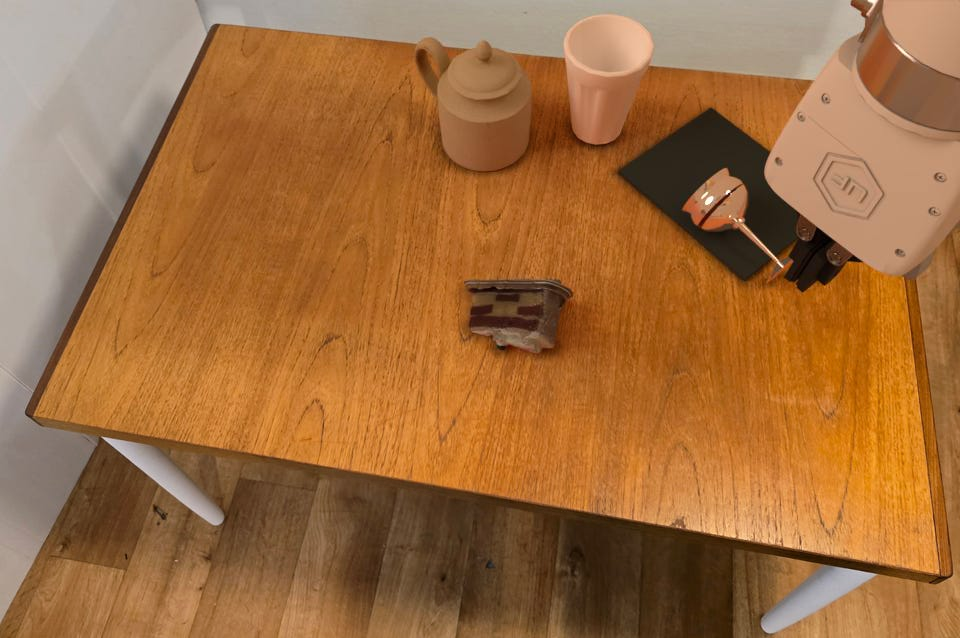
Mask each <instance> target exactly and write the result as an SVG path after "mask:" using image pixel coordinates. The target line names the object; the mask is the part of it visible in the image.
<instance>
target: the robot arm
mask: <svg viewBox="0 0 960 638" xmlns="http://www.w3.org/2000/svg"><path fill="white" fill-rule="evenodd" d="M850 6H851V7H853V8H854V9H856V10H857V11H859V12H860V16H861V17H862V18H864V27H863V30H862V31H860V32H859V33H857V34H854V35H852V36H851V37H849V38H847V39H846V40H845V41H844V42H843V43H841V44H840V46H839V47H838V48H837V49H836V51H835V52H834V53H833V54H832V56H830V58H829V59H828V60H827V62H826V63H825V64H824V66H823V68H822V69H821V70H820V72H819V73H818V74H817V76H816V77H815V78H814V80H813V81H812V82H811V84H810V86H809V88H808V89H807V91H805V93H804V95H803V97H802V98H801V100H800V101H799V102H798V104H797V106H796V108H795V109H794V111H793V112H792V113H791V116H790V117H789V119H788V121H787V122H786V123H785V125H784V127H783V128H782V130H781V132H780V133H779V136H778V138H777V139H776V141H775V143H774V144H773V146H772V149H771V150H770V152H771V153H770V155H769V157H768V159H767V162H766V165H765V170H764V174H765V178H766V180H767V182H768V184H769V185H770V187H771V188H772V189H773V191H774V192H775V193H776V194H777V195H778V196H780V197H781V198H782V199H783V200H784V201H785V202H787V203H788V204H789V205H790V206H792V207H793V208H794V209H795V210H796V213H797V216H798V219H799V221H798V224H797V227H796V233H797V235H798V237H799V239H797V240H796V241H795V244H794V245H793V247H792V249H791V250H790V252H789V254H788V255H787V258H788V257H789V258H790V259H792V260H793V262H791V263H790V265H789V267H788V269H787V271H786V272H785V274H784V275H783V278H784V279H785V280H786V281H787V282H788V283H791V282H792V283H793V284H794V283H795V286H796V289H797V290H798V291H800V293H805V292H806V291H807V290H808V289H810V288H811V287H812V286H813V285H815V284H816V283H817V282H819V283H820V284H821V285H822V286H823V287H825V286H827V285H828V284H829V283H831V282H832V281H833V280H834V279H835V278H836V277H837V276H838V275H839V274H840V272H841V271H842V270H843V269H844V267H845V266H846V264H847V263H848V262H849V263H862V264H863V263H864V264H865V265H867V266H869V267H870V268H871V269H874V270H875V271H877V272H878V273H882V274H884V275H887V276H891V277H903V278H904V279H906V280H909V281H915V280H916V279H918V278H919V277H920V276H921V275H922V274H923V273H924V272H926V271H927V270H928V269H929V268H930V266H931V263H932V261H933V258H934V256H935V254H936V251H937V249H938V247H939V246H940V245H941V244H942V242H943V241H945V240H946V239H947V238H949V237H950V236H951V235H953V234H954V232H955V231H957V229H958V228H959V227H960V0H850Z"/></svg>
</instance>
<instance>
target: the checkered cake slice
mask: <svg viewBox="0 0 960 638" xmlns="http://www.w3.org/2000/svg"><path fill="white" fill-rule="evenodd" d="M463 284H464V285H465V290H466V291H467V292H469V293H471V294H472V297H471V303H472V305H471V307H470V310H469V322H468V328H469V330H470V331H471V332H472V333H474V334H478V335H480V336H485V337H490V336H492V340H493V341H494V342H496V348H497V349H498V350H499V351H504V350H505V349H506V347H508V346H512V347H516V348H518V349H522V350H524V351H527V352H530V353H534V354H540V353H542V350H543V349H544V348H545V349H553V348H554V347H555V343H556V334H557V331H558V325H559V319H560V315H561V311H562V308H563V307H564V304H565V303H566V302H567V301H568V300H569V299H571V298H573V296H574V291H572V289H571V288H569V287H568V286H566V285H564V284H562V281H561V280H560V279H554V278H553V279H552V278H545V279H531V278H515V279H508V278H507V279H496V278H495V279H484V280H483V279H481V280H480V279H478V278H476V279H465V280H463Z"/></svg>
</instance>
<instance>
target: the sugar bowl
mask: <svg viewBox="0 0 960 638" xmlns="http://www.w3.org/2000/svg"><path fill="white" fill-rule="evenodd" d="M428 54H429V55H430V56H431V58H432V59H433V61H434V63H435V66H436V69H437V72H438V75H437V74H436V72H435V70H434V69H433V67H432V64H431V62H430V59H429V55H428ZM413 59H414V62H415V66H416V70H417V72H418V74H419V76H420V79H421V80H422V81H423V84H424V85H425V87H426V88H427V89H428V91H429V92H430V94H431V96H433V97H434V99H435V100H436V101H437V107H438V108H437V109H438V120H439V127H440V136H441V142H442V147H443V150H444V151H445V153H446V155H447V156H448V157H449V159H450V160H452V161H453V162H454V163H455V164H457V165H458V166H459V167H460V166H461V168H462V167H463V168H465V169H467V170H471V171H475V172H485V173H487V172H495V171H499V170H503V169H505V168H508V167H510V166H511V165H513V164H514V163H515V162H517V161H518V160H520V158H521V157H522V156H523V155H524V154H525V153H526V150H527V148H528V146H529V141H530V131H531V121H532V120H531V119H532V106H533V105H532V104H533V102H532V101H533V100H532V99H533V96H532V95H533V90H532V89H533V87H532V81H531V78H530V76H529V74H528V72H526V71H525V69H524V68H523V67H521V64H520V62H519V61H518V59H517V58H516V57H515V56H514V55H512V54H511V53H510V52H507V51H506V50H504V49H500V48H497V47H492V45H491V44H490V43H489V42H488V41H487V40H484V39H482V40H480V41H479V42H478V43H477V44H476V47H473V48H469V49H467V50H465V51H463V52H461V53H459V54H457V55H456V56H455V57H454V58H453V59H452V61H451V60H450V56H449V54H448V51H447V49H446V48H445V47H444V44H442V43H441V42H440V40H438V39H436V38H435V37H432V36H430V37H429V36H428V37H423V38H422V39H420V40H419V41H418V42H417V44H416V45H415V47H414V51H413Z"/></svg>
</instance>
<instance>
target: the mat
mask: <svg viewBox="0 0 960 638" xmlns="http://www.w3.org/2000/svg"><path fill="white" fill-rule="evenodd" d="M770 153H771V150H768V149H767V148H766V147H765V146H763V145H762V144H761V143H759V142H758V141H757V140H755V139H754V138H752V137H751V136H750V135H748V133H746V132H744V131H743V130H742V129H741V128H740V127H738V126H736V125H735V124H734V123H732V122H731V121H730V120H728V119H727V118H726V117H725V116H724V115H722V114H720V113H719V112H718V111H717V110H715V109H714V108H713V107H709V108H708V109H706V110H705V111H703V112H702V113H700V114H699V115H697V116H695V118H693V119H691V120H690V121H688V122H687V123H686V124H683V126H680V128H677V130H675V131H674V132H672V133H671V134H670V135H668V136H666V137H665V138H663V139H662V140H660V141H659V142H657V143H656V144H655V145H653V146H651V147H650V148H648V150H646V151H644V152H643V153H642V154H640V155H639V156H637V157H635V158H634V159H633V160H631V161H630V162H628V163H627V164H625V165H623V166H622V167H620V168H619V169H618V170H617V174H619V176H621V178H623V180H625V181H626V182H628V184H630V185H631V186H632V187H633V188H635V189H636V190H637V191H638V192H639V193H640V194H641V195H642V196H644V198H646V199H647V200H648V201H650V202H651V203H652V204H653V205H654V206H656V207H657V208H658V209H659V210H660V211H662V213H664V214H665V215H666V216H667V217H668V218H669V219H671V220H672V221H673V222H674V223H676V224H677V226H679V227H680V228H681V229H682V230H684V232H686V233H687V234H688V235H689V236H690V237H692V239H694V240H695V241H696V242H697V243H699V244H700V245H701V246H702V247H703V248H705V249H706V250H707V251H708V252H709V253H710V254H711V255H713V256H714V257H715V258H716V259H718V261H720V263H722V264H723V265H724V266H726V267H727V268H728V269H729V270H730V271H731V272H733V273H734V274H735V275H736V276H737V277H738V278H739V279H741V280H742V281H743V282H745V281H746V280H748V279H749V278H751V277H752V276H753V275H755V273H757V272H758V271H759V270H761V269H763V267H764V266H766V265H767V264H768V263H769V262H771V261H773V259H771V258H770V257H769V256H768V255H767V254H766V253H765V252H764V251H763V250H762V249H760V248H759V247H758V246H757V245H756V244H755V243H754V242H753V241H752V240H750V239H749V238H748V237H747V236H746V235H745V234H744V233H743V232H742V231H741V230H739V229H737V230H733V228H732V229H728V230H725V231H722V232H706V231H704V230H701V229H699V228H698V227H697V226H696V225H695V224H694V223H693V222H692V220H691V216H690V214H688V213H685V212H682V209H683V207H684V205H685V204H686V202H687V201H688V200H689V199H690V197H691V196H692V195H693V194H694V193H695V192H696V191H697V190H698V189H699V188H700V187H701V186H702V185H703V184H704V183H705V182H706V181H707V180H709V179H710V178H711V177H712V176H713V175H715V174H716V173H717V172H719V171H720V170H722V169H724V168H728V170H729V173H730V176H734V177H737V178H739V179H740V180H741V181H742V182H743V183H744V185H745V186H746V188H747V191H748V193H749V205H748V208H747V211H746V213H745V216H744V218H745V220H746V221H745V223H744V224H745V225H746V226H747V227H748V228H749V229H750V230H751V231H752V232H753V233H754V234H755V235H756V237H757V238H758V239H759V240H760V241H761V242H762V243H763V244H764V245H765V246H766V247H767V248H768V249H769V250H770V251H771V253H772V254H773V255H774V256H775V257H776V258H777V257H778V255H780V254H781V253H783V252H784V251H785V250H786V249H787V248H788V247H790V246H791V245H792V244H793V243H796V242H797V240H798V239H799V237H798V235H797V233H796V227H797V224H798V221H799V219H798V216H797V213H796V210H795V209H794V208H793V207H792V206H790V205H789V204H788V203H787V202H785V201H784V200H783V199H782V198H781V197H780V196H778V195H777V194H776V193H775V192H774V191H773V189H772V188H771V187H770V185H769V184H768V182H767V180H766V178H765V174H764V170H765V165H766V162H767V159H768V157H769V155H770Z"/></svg>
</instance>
